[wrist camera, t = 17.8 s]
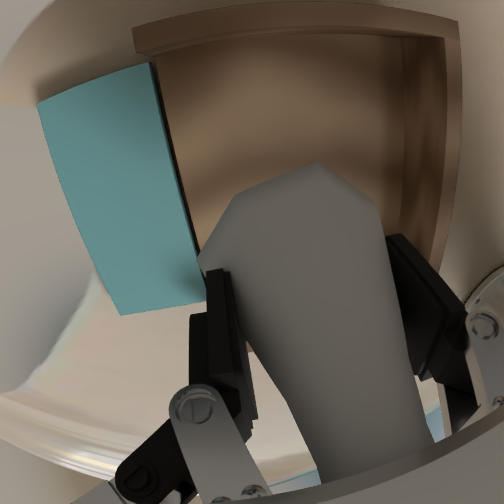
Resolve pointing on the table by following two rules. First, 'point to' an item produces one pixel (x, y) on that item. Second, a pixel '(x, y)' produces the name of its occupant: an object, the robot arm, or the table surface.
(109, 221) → the teal panel
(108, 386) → the table surface
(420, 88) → the crate
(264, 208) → the flask
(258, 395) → the table surface
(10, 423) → the table surface
